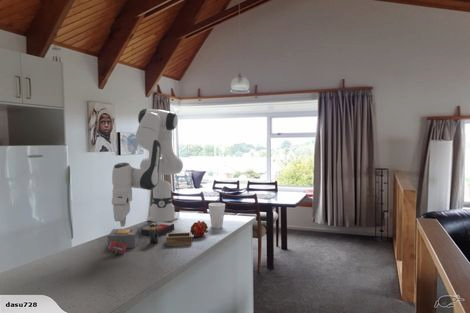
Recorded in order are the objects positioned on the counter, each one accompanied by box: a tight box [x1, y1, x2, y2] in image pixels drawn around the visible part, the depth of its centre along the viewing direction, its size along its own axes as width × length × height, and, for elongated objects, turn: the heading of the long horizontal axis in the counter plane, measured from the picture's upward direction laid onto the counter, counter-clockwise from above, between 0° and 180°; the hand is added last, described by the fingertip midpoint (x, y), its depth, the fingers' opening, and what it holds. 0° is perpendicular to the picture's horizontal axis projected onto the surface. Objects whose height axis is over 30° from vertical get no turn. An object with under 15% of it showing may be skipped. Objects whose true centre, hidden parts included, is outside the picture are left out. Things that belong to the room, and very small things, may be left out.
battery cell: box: [148, 222, 159, 245], centre depth 166 cm, size 4×4×10 cm
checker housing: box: [107, 227, 139, 250], centre depth 164 cm, size 12×12×6 cm
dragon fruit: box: [190, 220, 209, 238], centre depth 177 cm, size 8×8×12 cm
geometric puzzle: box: [108, 239, 128, 257], centre depth 150 cm, size 7×7×8 cm
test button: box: [116, 228, 131, 234], centre depth 164 cm, size 6×6×3 cm
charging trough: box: [165, 232, 193, 247], centre depth 166 cm, size 8×12×4 cm, turn 98°
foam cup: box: [208, 202, 226, 229], centre depth 196 cm, size 10×9×13 cm
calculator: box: [140, 222, 175, 238], centre depth 186 cm, size 11×4×15 cm
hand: (123, 225), depth 164 cm, fingers closed
